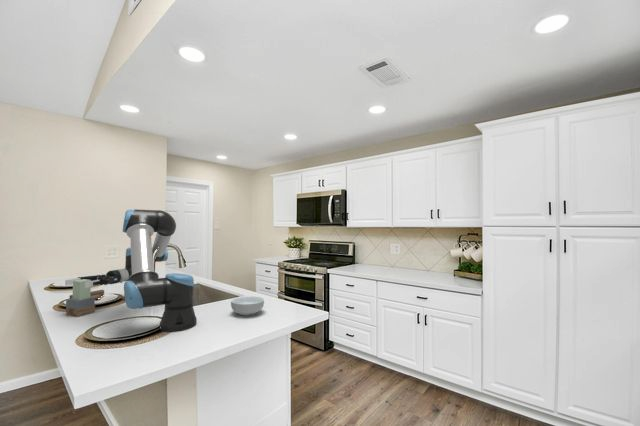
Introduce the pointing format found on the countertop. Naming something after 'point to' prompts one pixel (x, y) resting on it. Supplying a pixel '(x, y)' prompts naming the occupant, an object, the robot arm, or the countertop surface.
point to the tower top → (80, 303)
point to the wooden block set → (94, 294)
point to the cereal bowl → (247, 305)
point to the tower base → (80, 311)
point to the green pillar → (80, 290)
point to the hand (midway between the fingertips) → (75, 283)
